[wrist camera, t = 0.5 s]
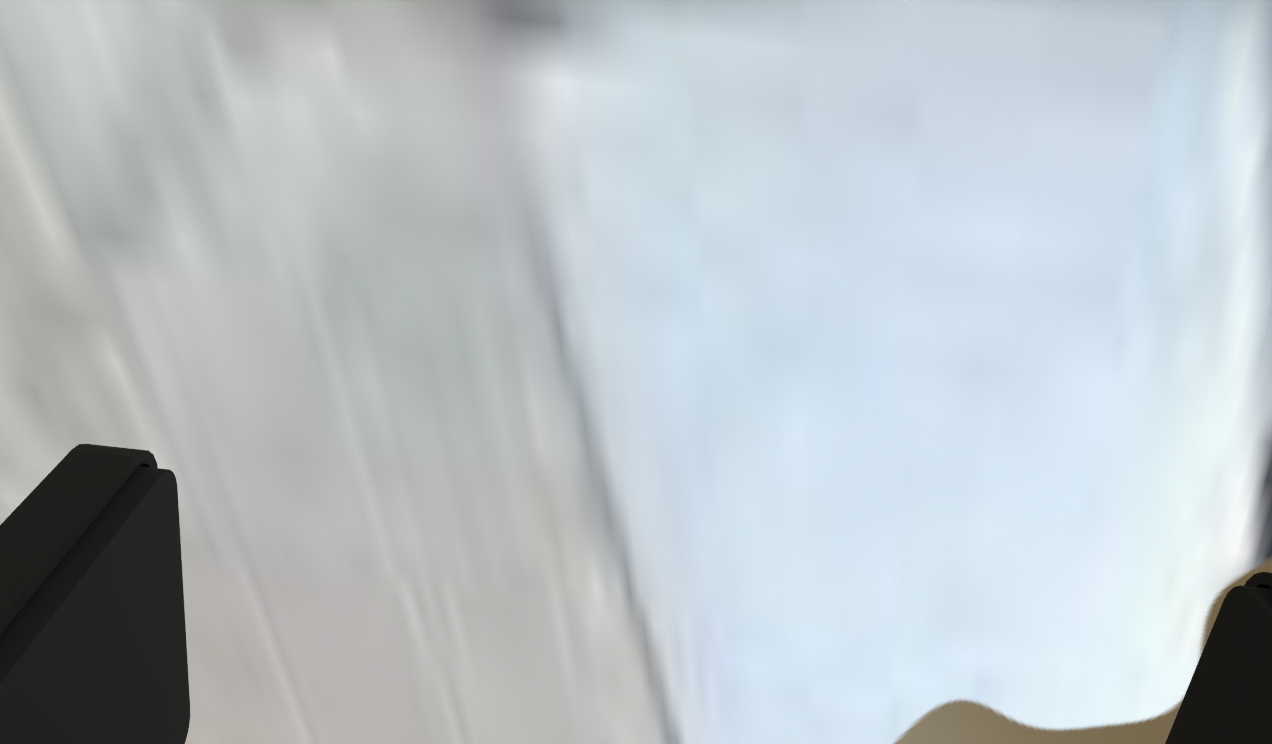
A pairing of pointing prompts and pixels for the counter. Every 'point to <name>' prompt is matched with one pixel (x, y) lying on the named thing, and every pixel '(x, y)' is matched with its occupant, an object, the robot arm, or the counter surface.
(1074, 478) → the counter surface
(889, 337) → the counter surface
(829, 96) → the counter surface
